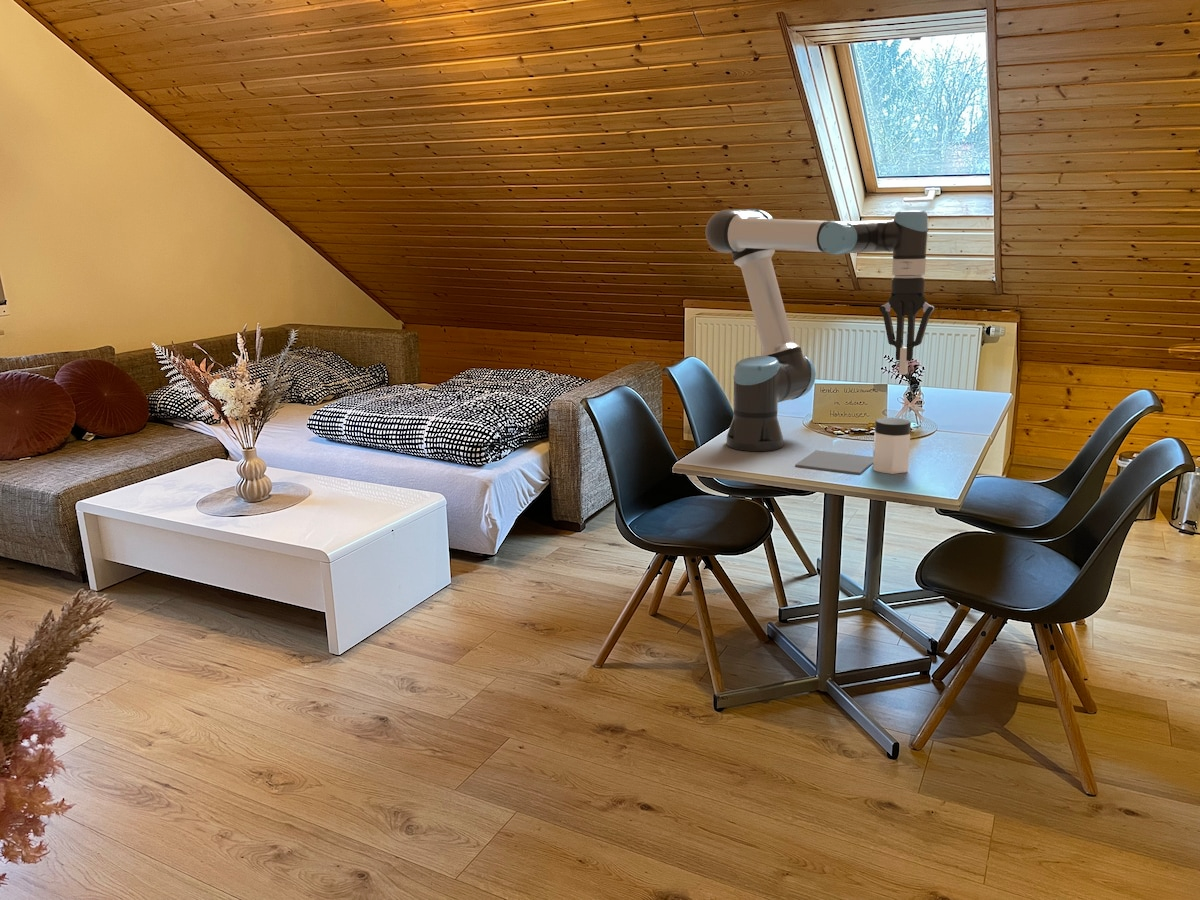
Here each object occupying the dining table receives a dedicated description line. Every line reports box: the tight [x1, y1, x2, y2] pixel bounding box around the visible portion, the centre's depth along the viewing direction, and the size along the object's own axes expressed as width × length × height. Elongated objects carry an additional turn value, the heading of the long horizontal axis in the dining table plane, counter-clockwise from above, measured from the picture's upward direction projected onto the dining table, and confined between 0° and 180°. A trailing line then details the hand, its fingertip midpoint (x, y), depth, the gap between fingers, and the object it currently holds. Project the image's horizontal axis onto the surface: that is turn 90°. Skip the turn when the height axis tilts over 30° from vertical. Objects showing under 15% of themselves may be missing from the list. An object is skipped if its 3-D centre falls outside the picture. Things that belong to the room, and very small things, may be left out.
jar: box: [872, 417, 912, 475], centre depth 216 cm, size 9×8×12 cm
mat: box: [794, 449, 873, 476], centre depth 224 cm, size 16×16×1 cm
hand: (903, 373), depth 222 cm, fingers closed
